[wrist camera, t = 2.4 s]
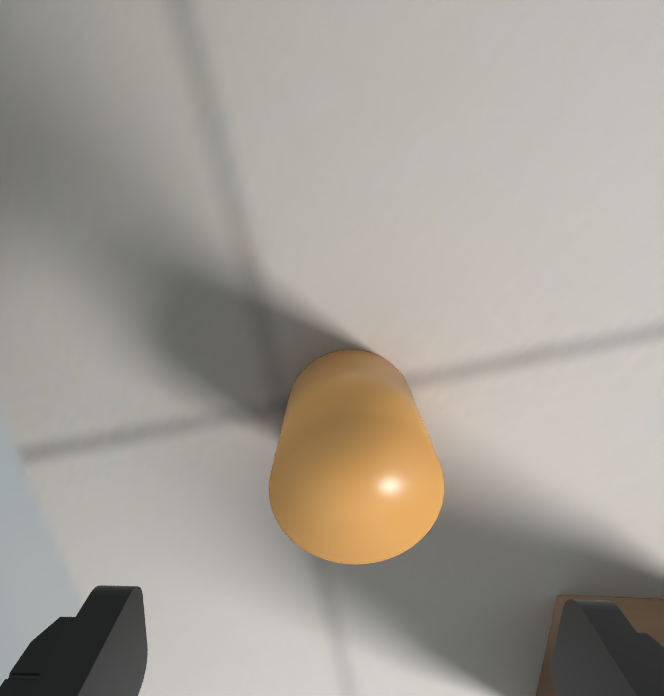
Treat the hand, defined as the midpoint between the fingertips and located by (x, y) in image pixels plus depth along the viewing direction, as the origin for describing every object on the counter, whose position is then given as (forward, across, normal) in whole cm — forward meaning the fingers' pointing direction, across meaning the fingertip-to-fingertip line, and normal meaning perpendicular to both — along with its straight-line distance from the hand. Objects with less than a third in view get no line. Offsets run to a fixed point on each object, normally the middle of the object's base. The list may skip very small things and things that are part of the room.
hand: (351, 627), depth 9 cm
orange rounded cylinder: (+10, 0, 0) cm, 10 cm away
